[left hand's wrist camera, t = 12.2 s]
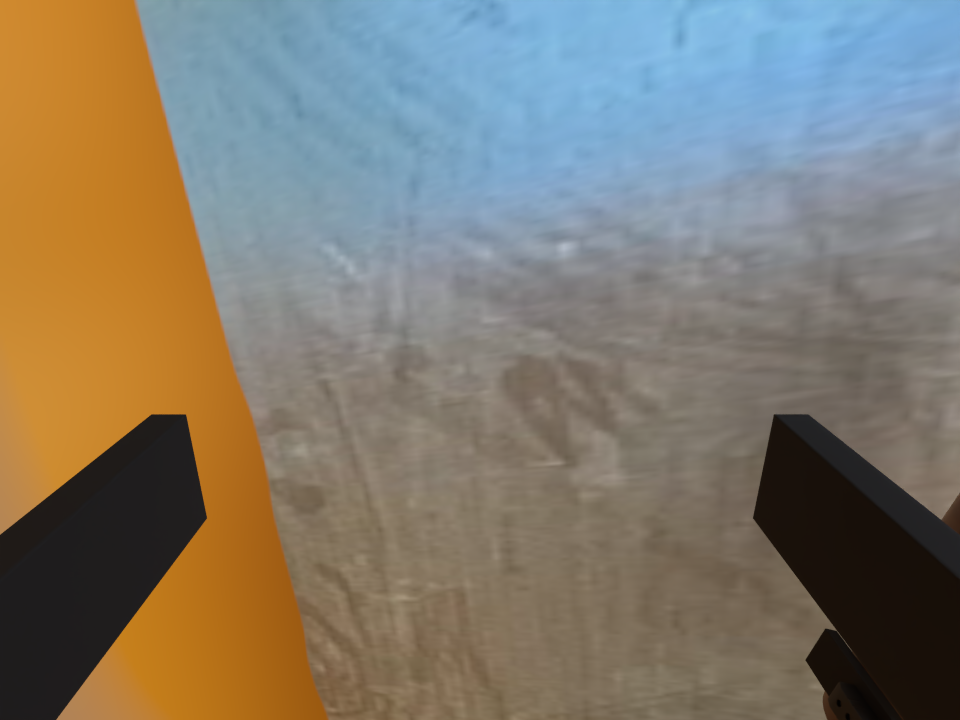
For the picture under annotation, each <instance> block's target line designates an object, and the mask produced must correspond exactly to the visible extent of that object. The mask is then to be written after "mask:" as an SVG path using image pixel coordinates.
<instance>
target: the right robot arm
mask: <svg viewBox="0 0 960 720" xmlns="http://www.w3.org/2000/svg"><path fill="white" fill-rule="evenodd" d="M806 662H807V663H808V665H809V666H810V668H811V669H812V671H813V673H814V674H815V676H816V677H817V679H818V680H819V682H820V684H821V685H822V687H823V688H824V690H825V691H826V693H827V694H828V696H829V697H828V703H829V707H830V708H831V710H832V711H833V713H834V714H835V715H836V718H837V719H838V720H902V718H901V717H900V716H899V714H898V713H897V712H896V710H895V709H894V708H893V706H892V705H891V704H890V702H889V701H888V700H887V698H886V697H885V696H884V694H883V693H882V692H881V690H880V689H879V688H878V686H877V685H876V683H875V682H874V681H873V680H872V678H871V677H870V675H869V674H868V673H867V671H866V670H865V669H864V667H863V666H862V665H861V663H860V662H859V661H858V659H857V658H856V657H855V655H854V654H853V653H852V651H851V650H850V649H849V647H848V646H847V645H846V643H845V642H844V640H843V639H842V638H841V636H840V635H839V634H838V632H837V631H834V630H830V629H825V630H824V632H823V633H822V635H821V636H820V638H819V640H818V641H817V643H816V644H815V646H814V647H813V649H812V651H811V652H810V654H809V655H808V657H807V658H806Z"/></svg>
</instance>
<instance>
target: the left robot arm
mask: <svg viewBox="0 0 960 720" xmlns="http://www.w3.org/2000/svg"><path fill="white" fill-rule="evenodd" d="M206 519H207V516H206V511H205V506H204V501H203V496H202V491H201V486H200V481H199V476H198V472H197V467H196V462H195V457H194V452H193V447H192V442H191V437H190V432H189V427H188V422H187V417H186V415H150V416H149V417H148V418H147V419H146V420H144V421H143V422H142V423H140V424H139V425H138V426H137V427H135V428H134V429H133V430H132V431H130V432H129V433H128V434H127V435H125V436H124V437H123V438H121V439H120V440H119V441H118V442H116V443H115V444H114V445H113V446H111V447H110V448H109V449H108V450H106V451H105V452H104V453H103V454H101V455H100V456H99V457H98V458H96V459H95V460H94V461H93V462H91V463H90V464H89V465H88V466H86V467H85V468H84V469H82V470H81V471H80V472H79V473H77V474H76V475H75V476H74V477H72V478H71V479H70V480H69V481H67V482H66V483H65V484H64V485H62V486H61V487H60V488H59V489H57V490H56V491H55V492H54V493H52V494H51V495H50V496H49V497H47V498H46V499H45V500H44V501H42V502H41V503H40V504H39V505H37V506H36V507H35V508H34V509H32V510H31V511H30V512H28V513H27V514H26V515H25V516H23V517H22V518H21V519H20V520H18V521H17V522H16V523H15V524H13V525H12V526H11V527H10V528H8V529H7V530H6V531H4V532H3V533H2V534H1V535H0V720H56V719H57V718H58V716H59V715H60V714H61V712H62V711H63V710H64V708H65V707H66V706H67V704H68V703H69V702H70V700H71V699H72V698H73V696H74V695H75V694H76V692H77V691H78V690H79V688H80V687H81V686H82V684H83V683H84V682H85V680H86V679H87V678H88V676H89V675H90V674H91V672H92V671H93V670H94V668H95V667H96V666H97V664H98V663H99V662H100V660H101V659H102V658H103V656H104V655H105V654H106V652H107V651H108V650H109V648H110V647H111V646H112V644H113V643H114V642H115V640H116V639H117V638H118V636H119V635H120V634H121V632H122V631H123V630H124V628H125V627H126V626H127V624H128V623H129V622H130V620H131V619H132V618H133V616H134V615H135V614H136V612H137V611H138V610H139V608H140V607H141V606H142V604H143V603H144V602H145V600H146V599H147V598H148V596H149V595H150V594H151V592H152V591H153V590H154V588H155V587H156V586H157V584H158V583H159V582H160V580H161V579H162V578H163V576H164V575H165V574H166V572H167V571H168V570H169V568H170V567H171V566H172V564H173V563H174V562H175V560H176V559H177V558H178V556H179V555H180V554H181V552H182V551H183V550H184V548H185V547H186V546H187V544H188V543H189V542H190V540H191V539H192V538H193V536H194V535H195V533H196V532H197V531H198V530H199V528H200V527H201V525H202V524H203V523H204V521H205V520H206ZM753 519H754V520H755V521H756V523H757V524H758V525H759V527H760V528H761V530H762V531H763V532H764V534H765V535H766V536H767V538H768V539H769V540H770V542H771V543H772V544H773V546H774V547H775V548H776V550H777V551H778V552H779V554H780V555H781V556H782V558H783V559H784V560H785V562H786V563H787V564H788V566H789V567H790V568H791V570H792V571H793V572H794V574H795V575H796V576H797V578H798V579H799V580H800V582H801V583H802V584H803V586H804V587H805V588H806V590H807V591H808V592H809V594H810V595H811V596H812V598H813V599H814V600H815V602H816V603H817V604H818V606H819V607H820V608H821V610H822V611H823V612H824V614H825V615H826V616H827V618H828V619H829V620H830V622H831V623H832V624H833V626H834V627H835V628H836V630H837V631H838V632H839V634H840V635H841V636H842V638H843V639H844V640H845V642H846V643H847V644H848V646H849V647H850V648H851V650H852V651H853V652H854V654H855V655H856V656H857V658H858V659H859V660H860V662H861V663H862V664H863V666H864V667H865V668H866V670H867V671H868V672H869V674H870V675H871V676H872V678H873V679H874V680H875V682H876V683H877V684H878V686H879V687H880V688H881V690H882V691H883V692H884V694H885V695H886V696H887V698H888V699H889V700H890V702H891V703H892V704H893V706H894V707H895V708H896V710H897V711H898V712H899V714H900V715H901V716H902V718H903V719H904V720H960V535H959V534H958V533H957V532H956V531H954V530H953V529H952V528H950V527H949V526H948V525H947V524H945V523H944V522H943V521H942V520H940V519H939V518H938V517H937V516H935V515H934V514H933V513H932V512H930V511H929V510H928V509H927V508H925V507H924V506H923V505H922V504H920V503H919V502H918V501H917V500H915V499H914V498H913V497H911V496H910V495H909V494H908V493H906V492H905V491H904V490H903V489H901V488H900V487H899V486H898V485H896V484H895V483H894V482H893V481H891V480H890V479H889V478H888V477H886V476H885V475H884V474H883V473H881V472H880V471H879V470H878V469H876V468H875V467H874V466H872V465H871V464H870V463H869V462H867V461H866V460H865V459H864V458H862V457H861V456H860V455H859V454H857V453H856V452H855V451H854V450H852V449H851V448H850V447H849V446H847V445H846V444H845V443H844V442H842V441H841V440H840V439H839V438H837V437H836V436H835V435H833V434H832V433H831V432H830V431H828V430H827V429H826V428H825V427H823V426H822V425H821V424H820V423H818V422H817V421H816V420H815V419H813V418H812V417H811V416H810V415H774V417H773V422H772V427H771V432H770V437H769V442H768V447H767V452H766V457H765V462H764V467H763V472H762V476H761V481H760V486H759V491H758V496H757V501H756V506H755V511H754V516H753Z"/></svg>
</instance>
